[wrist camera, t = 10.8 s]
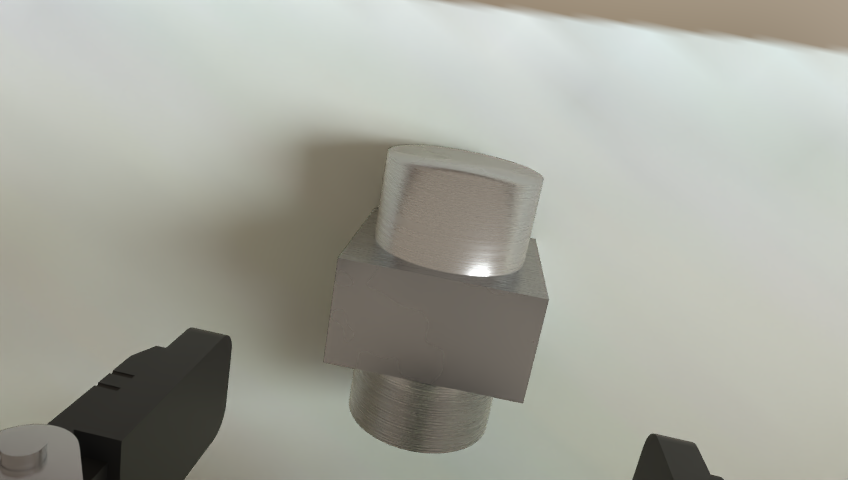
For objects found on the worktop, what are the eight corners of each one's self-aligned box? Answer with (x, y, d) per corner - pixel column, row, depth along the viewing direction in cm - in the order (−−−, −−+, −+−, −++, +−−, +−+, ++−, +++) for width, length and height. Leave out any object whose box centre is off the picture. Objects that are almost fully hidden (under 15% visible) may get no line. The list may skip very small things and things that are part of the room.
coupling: (552, 164, 20) (572, 203, 15) (501, 384, 23) (503, 481, 18) (386, 133, 21) (351, 161, 16) (352, 353, 23) (312, 441, 18)
